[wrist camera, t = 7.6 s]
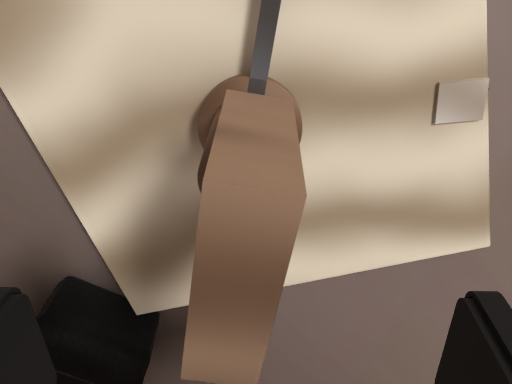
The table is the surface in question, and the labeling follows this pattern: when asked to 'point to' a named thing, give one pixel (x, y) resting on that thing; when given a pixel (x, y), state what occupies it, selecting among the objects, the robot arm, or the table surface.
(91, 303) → the portable radio
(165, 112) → the dial board
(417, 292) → the table surface
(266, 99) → the tuning peg
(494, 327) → the robot arm
